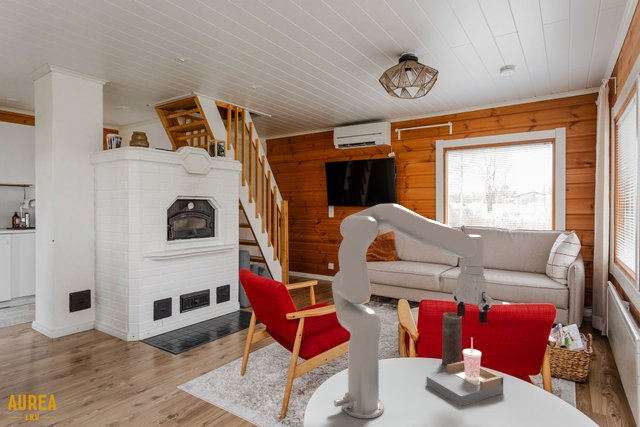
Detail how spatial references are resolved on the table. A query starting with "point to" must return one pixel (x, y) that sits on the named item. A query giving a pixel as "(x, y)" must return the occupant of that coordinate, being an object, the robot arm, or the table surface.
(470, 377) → the beverage cup
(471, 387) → the dock
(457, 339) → the brown rough cylinder
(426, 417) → the table surface
